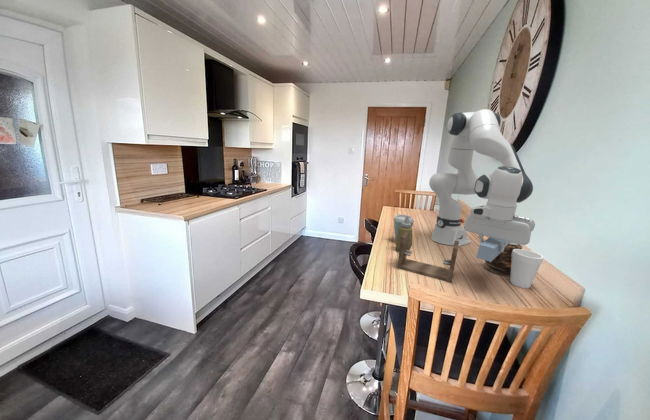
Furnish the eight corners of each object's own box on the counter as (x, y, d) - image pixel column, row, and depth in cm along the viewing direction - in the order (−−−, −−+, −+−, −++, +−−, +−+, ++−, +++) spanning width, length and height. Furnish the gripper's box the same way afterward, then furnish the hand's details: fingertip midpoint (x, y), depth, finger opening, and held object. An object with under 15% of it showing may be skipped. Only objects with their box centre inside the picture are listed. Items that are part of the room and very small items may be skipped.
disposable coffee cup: (414, 246, 135) (418, 219, 131) (395, 246, 133) (398, 218, 130) (405, 239, 145) (408, 214, 141) (387, 239, 143) (390, 213, 140)
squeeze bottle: (410, 248, 130) (415, 215, 126) (411, 254, 122) (416, 219, 118) (394, 246, 132) (398, 213, 128) (394, 252, 124) (399, 217, 120)
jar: (515, 269, 112) (522, 237, 109) (517, 279, 103) (525, 245, 99) (484, 262, 119) (490, 232, 115) (483, 270, 109) (490, 238, 106)
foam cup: (509, 276, 105) (516, 247, 103) (537, 285, 99) (545, 254, 96) (502, 282, 99) (510, 252, 96) (532, 293, 93) (540, 260, 90)
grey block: (489, 247, 100) (491, 235, 99) (502, 250, 97) (505, 238, 96) (476, 257, 90) (479, 244, 88) (491, 261, 87) (494, 248, 85)
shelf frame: (453, 272, 105) (458, 241, 102) (451, 282, 97) (457, 249, 94) (402, 260, 115) (406, 231, 112) (396, 268, 107) (400, 237, 104)
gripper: (537, 218, 85) (527, 255, 88) (471, 206, 99) (465, 238, 102) (534, 220, 80) (524, 260, 84) (466, 208, 95) (459, 242, 98)
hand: (491, 248), depth 93 cm, fingers closed on grey block, 4 cm apart
